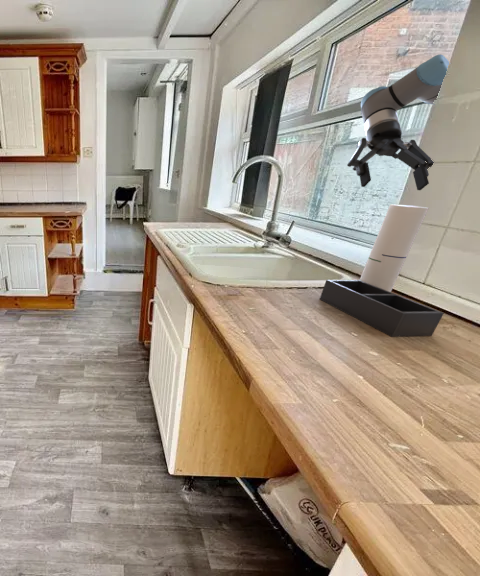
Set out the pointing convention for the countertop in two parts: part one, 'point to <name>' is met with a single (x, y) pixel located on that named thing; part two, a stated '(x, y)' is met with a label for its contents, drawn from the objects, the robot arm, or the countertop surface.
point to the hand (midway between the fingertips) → (394, 185)
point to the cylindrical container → (393, 245)
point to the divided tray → (381, 308)
